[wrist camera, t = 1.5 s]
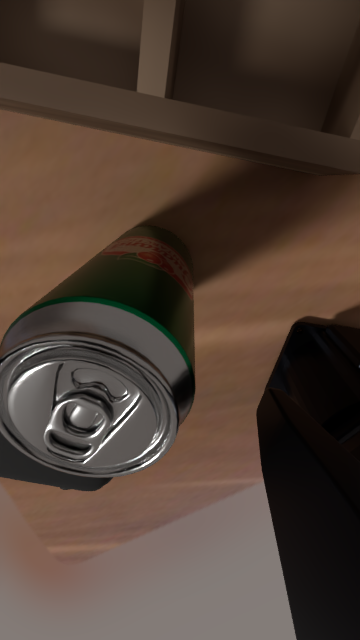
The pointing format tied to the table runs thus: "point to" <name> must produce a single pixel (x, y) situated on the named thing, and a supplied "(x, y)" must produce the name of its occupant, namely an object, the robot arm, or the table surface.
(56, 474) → the carrying case or bag
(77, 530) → the table surface
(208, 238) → the table surface
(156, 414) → the soda can
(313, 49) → the can rack
